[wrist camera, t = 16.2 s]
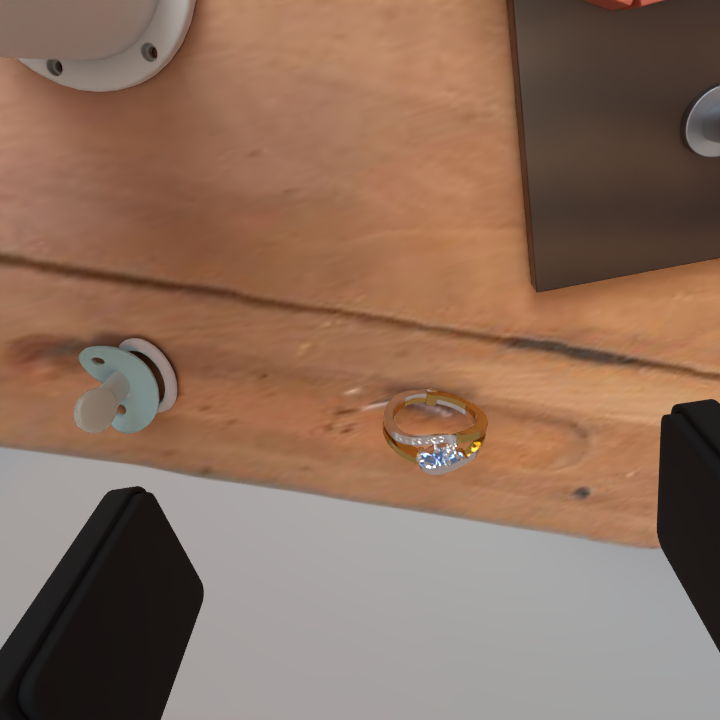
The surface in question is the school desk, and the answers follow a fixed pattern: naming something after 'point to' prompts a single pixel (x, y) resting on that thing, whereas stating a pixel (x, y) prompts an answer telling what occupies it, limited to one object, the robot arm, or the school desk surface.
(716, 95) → the steel post
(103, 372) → the pacifier
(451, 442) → the ring
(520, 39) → the board
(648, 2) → the ring
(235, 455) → the school desk surface
